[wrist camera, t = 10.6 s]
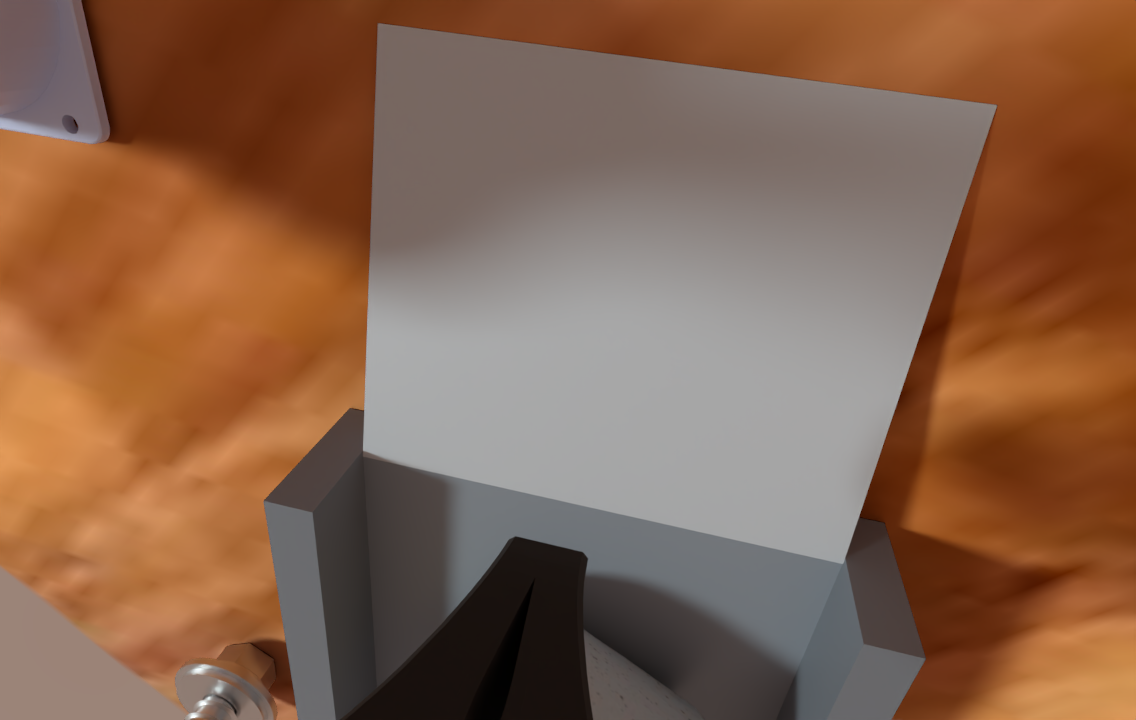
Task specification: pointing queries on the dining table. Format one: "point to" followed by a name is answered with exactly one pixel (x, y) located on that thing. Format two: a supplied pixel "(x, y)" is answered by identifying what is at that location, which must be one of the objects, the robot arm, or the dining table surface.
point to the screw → (228, 685)
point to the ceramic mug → (628, 689)
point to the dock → (630, 369)
